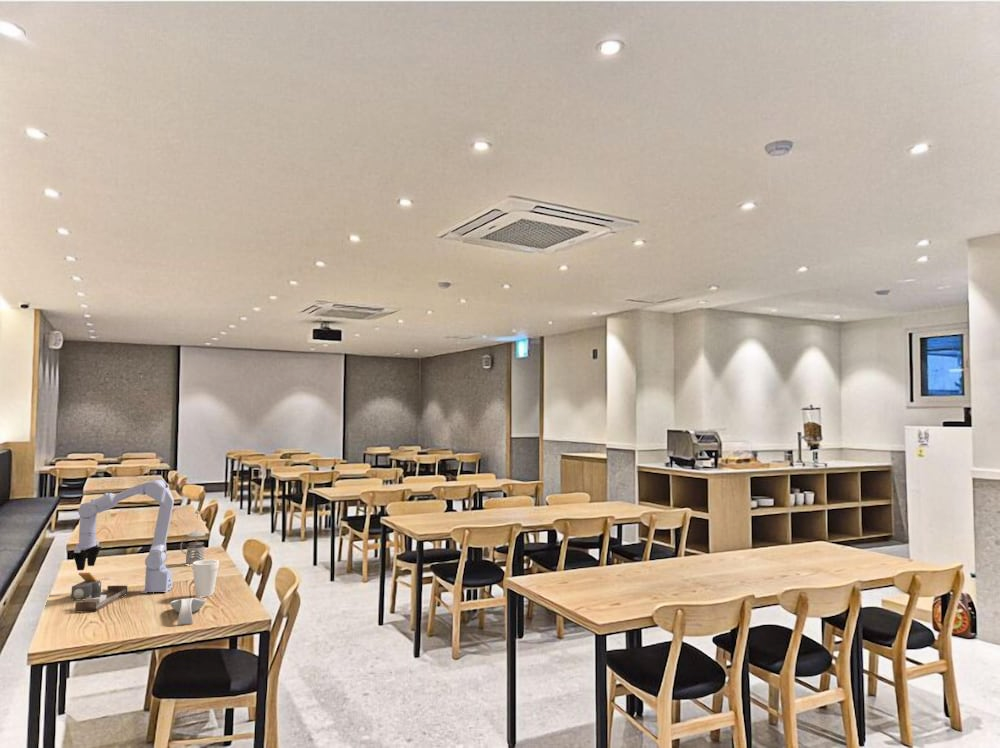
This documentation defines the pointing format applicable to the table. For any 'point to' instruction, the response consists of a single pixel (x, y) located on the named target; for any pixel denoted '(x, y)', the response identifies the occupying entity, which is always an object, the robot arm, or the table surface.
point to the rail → (111, 595)
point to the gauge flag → (87, 576)
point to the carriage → (96, 593)
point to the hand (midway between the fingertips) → (85, 567)
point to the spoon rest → (187, 609)
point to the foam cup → (205, 576)
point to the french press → (192, 546)
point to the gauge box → (82, 590)
